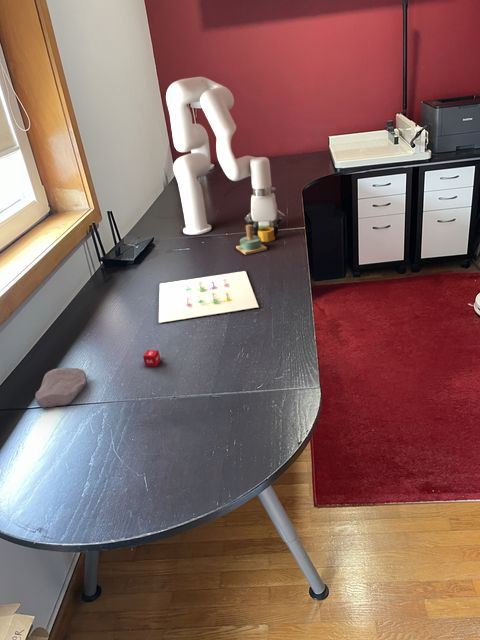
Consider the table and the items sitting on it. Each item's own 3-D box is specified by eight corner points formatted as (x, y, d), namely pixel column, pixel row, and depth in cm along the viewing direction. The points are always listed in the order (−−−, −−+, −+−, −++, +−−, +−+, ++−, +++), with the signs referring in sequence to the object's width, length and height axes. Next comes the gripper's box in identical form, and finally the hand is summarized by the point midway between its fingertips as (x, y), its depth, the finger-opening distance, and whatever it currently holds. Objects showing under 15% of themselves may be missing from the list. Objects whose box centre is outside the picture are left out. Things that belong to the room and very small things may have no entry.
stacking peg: (236, 248, 199) (233, 225, 194) (256, 243, 202) (254, 220, 197) (245, 255, 192) (242, 230, 187) (266, 249, 195) (264, 225, 190)
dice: (156, 366, 129) (154, 356, 127) (145, 366, 129) (142, 356, 128) (160, 360, 131) (158, 350, 130) (149, 359, 132) (147, 350, 130)
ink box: (262, 225, 222) (260, 198, 216) (274, 225, 220) (272, 197, 214) (258, 232, 214) (256, 204, 208) (270, 231, 213) (268, 203, 207)
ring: (257, 242, 203) (256, 232, 201) (259, 236, 209) (258, 227, 207) (274, 241, 202) (273, 231, 200) (275, 235, 208) (275, 226, 206)
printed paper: (258, 308, 152) (258, 303, 151) (158, 323, 149) (157, 319, 148) (245, 271, 178) (245, 267, 177) (160, 284, 175) (159, 280, 174)
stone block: (90, 382, 128) (49, 380, 127) (89, 366, 126) (47, 364, 125) (79, 412, 118) (35, 410, 117) (78, 396, 116) (32, 394, 115)
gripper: (285, 187, 198) (288, 231, 207) (241, 190, 201) (246, 234, 210) (283, 192, 192) (287, 237, 201) (238, 195, 194) (244, 240, 203)
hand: (266, 235), depth 205 cm, fingers closed on ring, 6 cm apart
